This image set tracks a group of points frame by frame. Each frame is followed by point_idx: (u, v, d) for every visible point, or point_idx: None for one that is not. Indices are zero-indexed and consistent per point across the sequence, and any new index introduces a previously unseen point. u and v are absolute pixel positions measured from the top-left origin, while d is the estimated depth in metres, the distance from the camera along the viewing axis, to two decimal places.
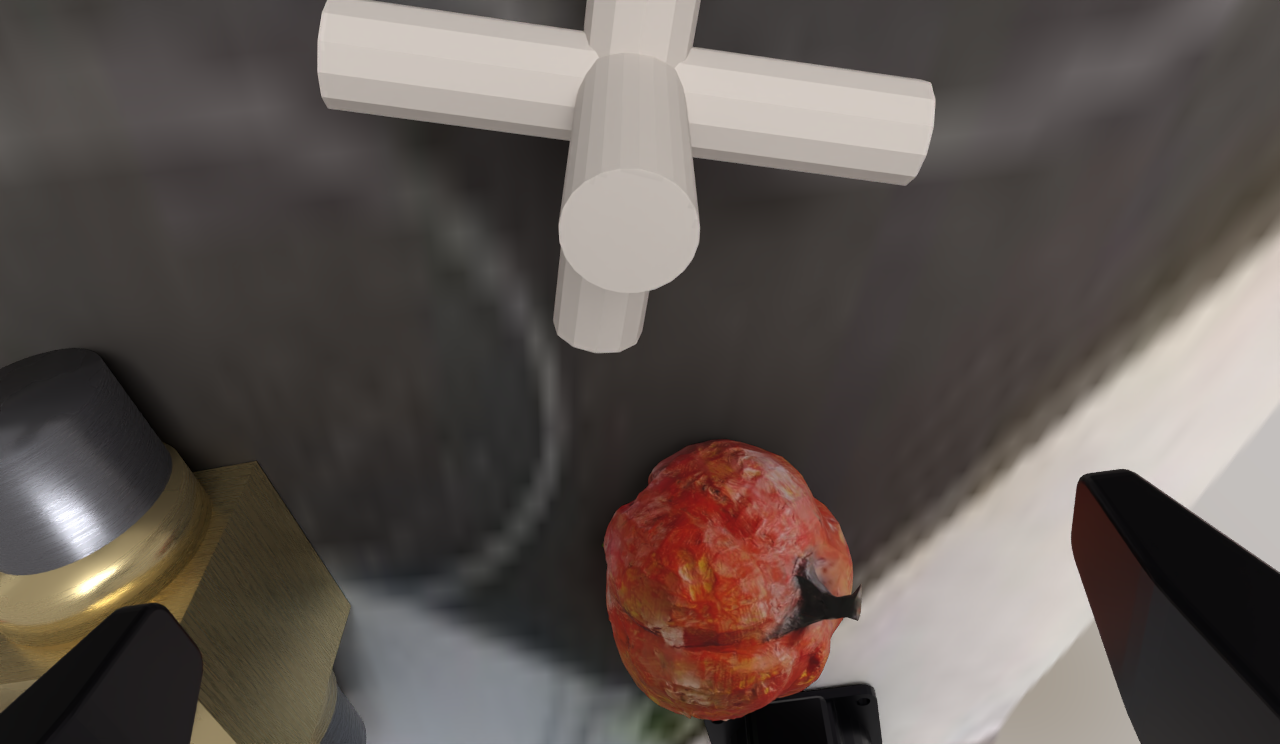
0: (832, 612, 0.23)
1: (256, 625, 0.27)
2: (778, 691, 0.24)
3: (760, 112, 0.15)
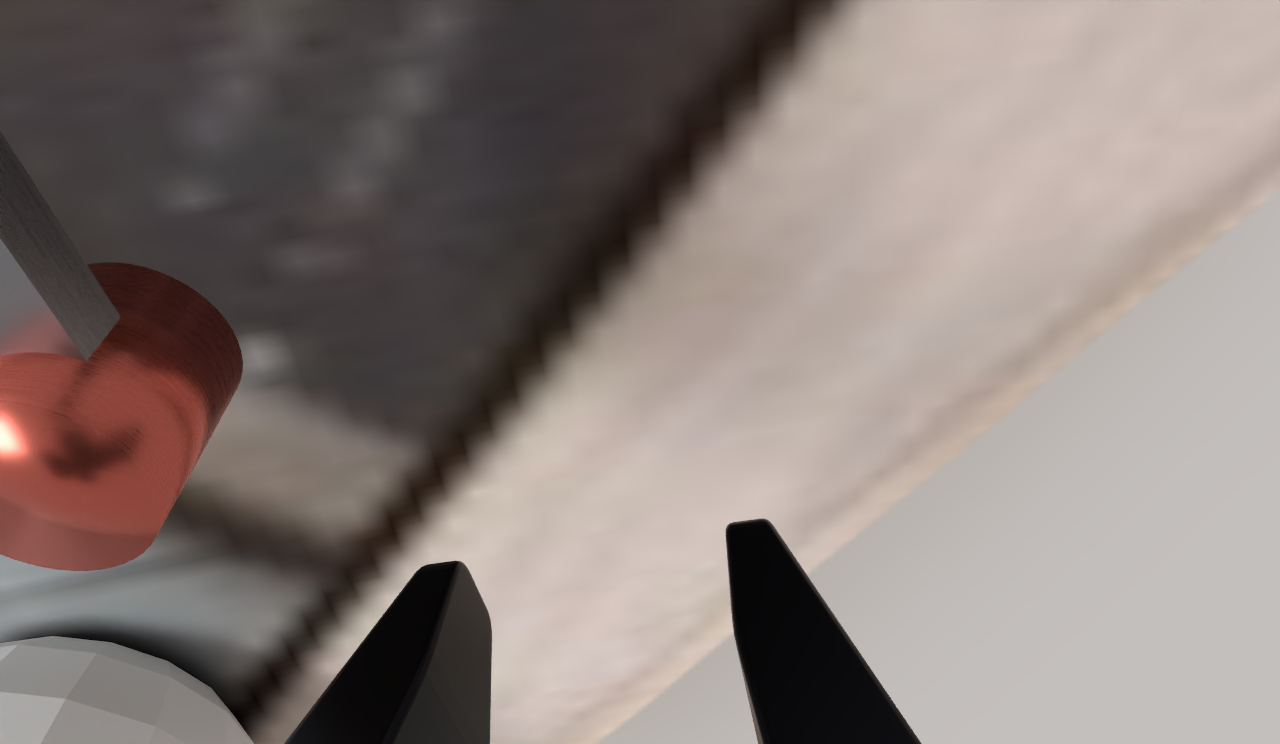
0: None
1: None
2: None
3: None
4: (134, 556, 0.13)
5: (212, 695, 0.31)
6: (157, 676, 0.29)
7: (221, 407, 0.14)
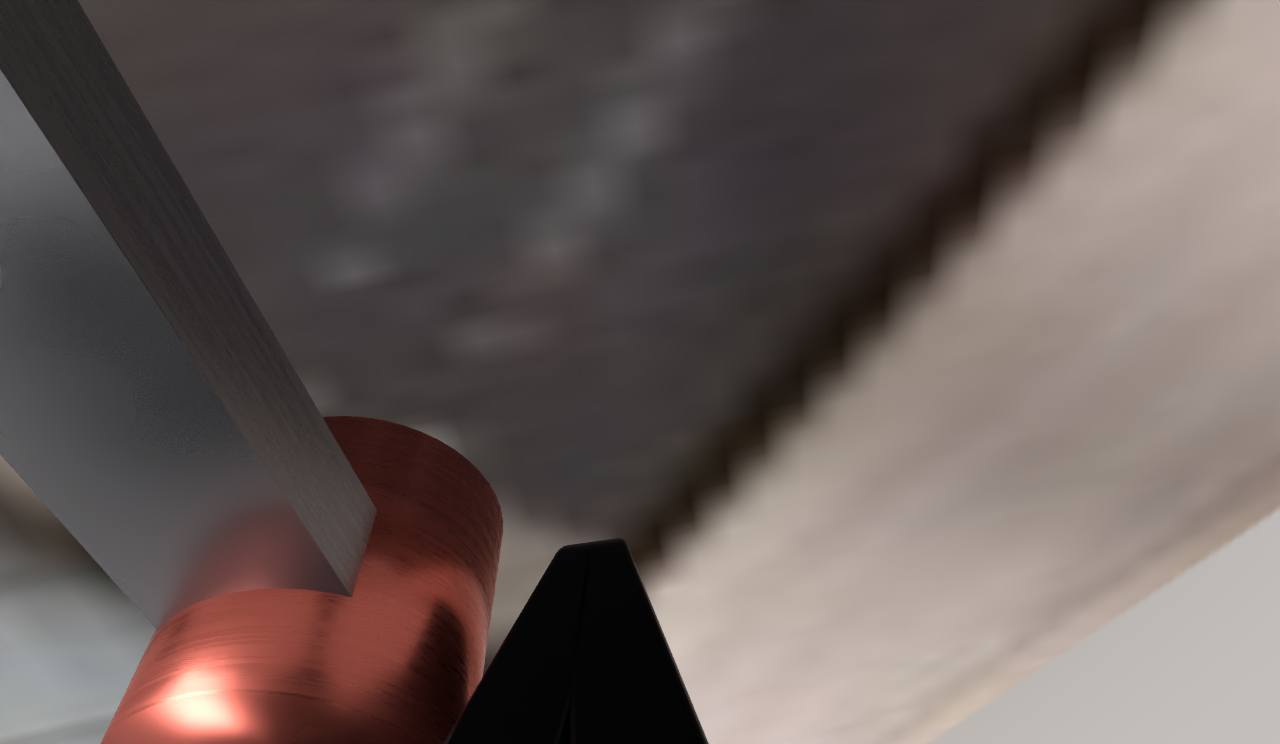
0: None
1: None
2: None
3: None
4: None
5: None
6: None
7: (490, 609, 0.10)
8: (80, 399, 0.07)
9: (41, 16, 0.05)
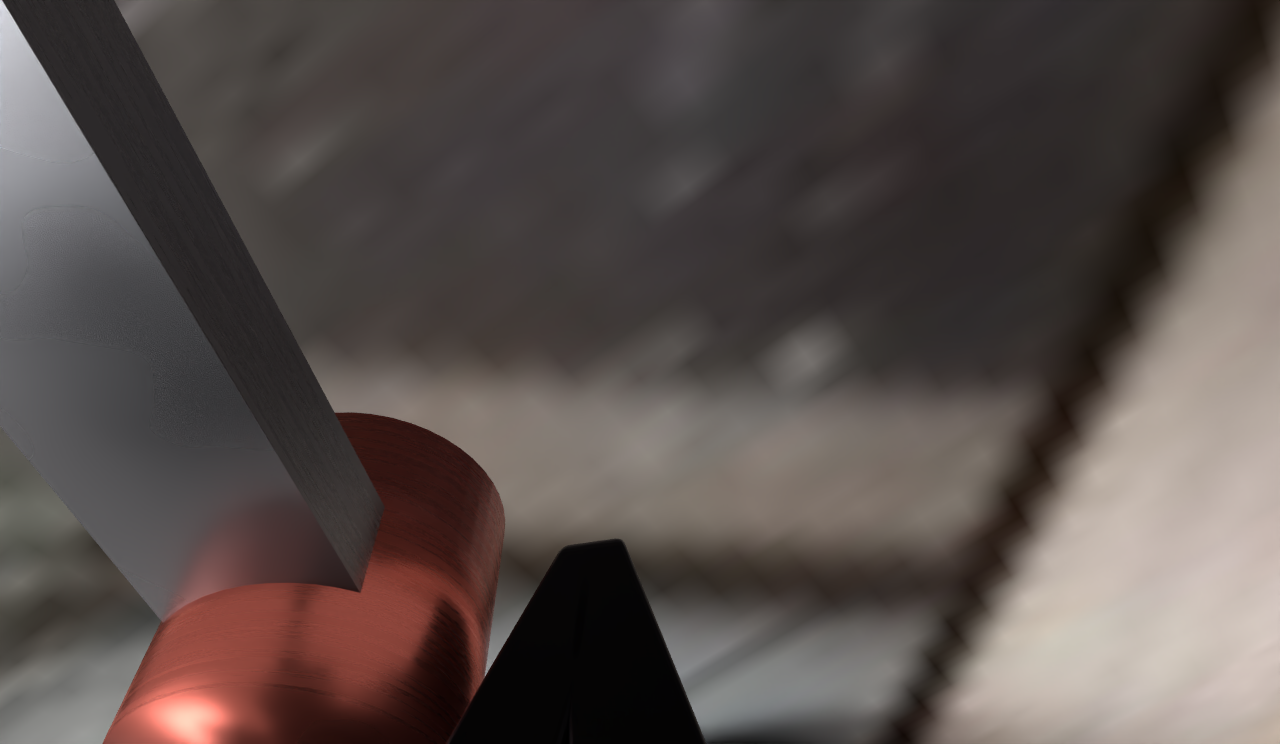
0: None
1: None
2: None
3: None
4: None
5: None
6: None
7: None
8: (98, 389, 0.07)
9: (76, 7, 0.06)
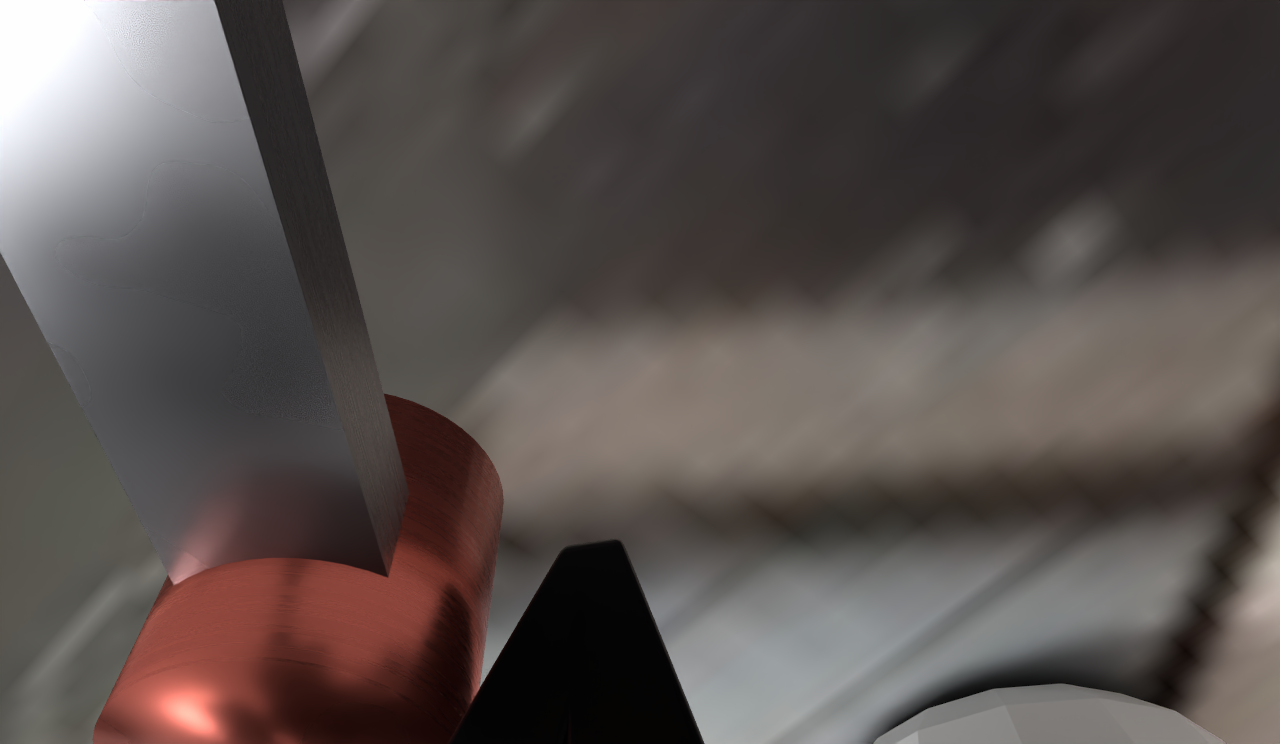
0: None
1: None
2: None
3: None
4: None
5: (1137, 700, 0.24)
6: (1084, 702, 0.23)
7: None
8: (179, 348, 0.06)
9: None
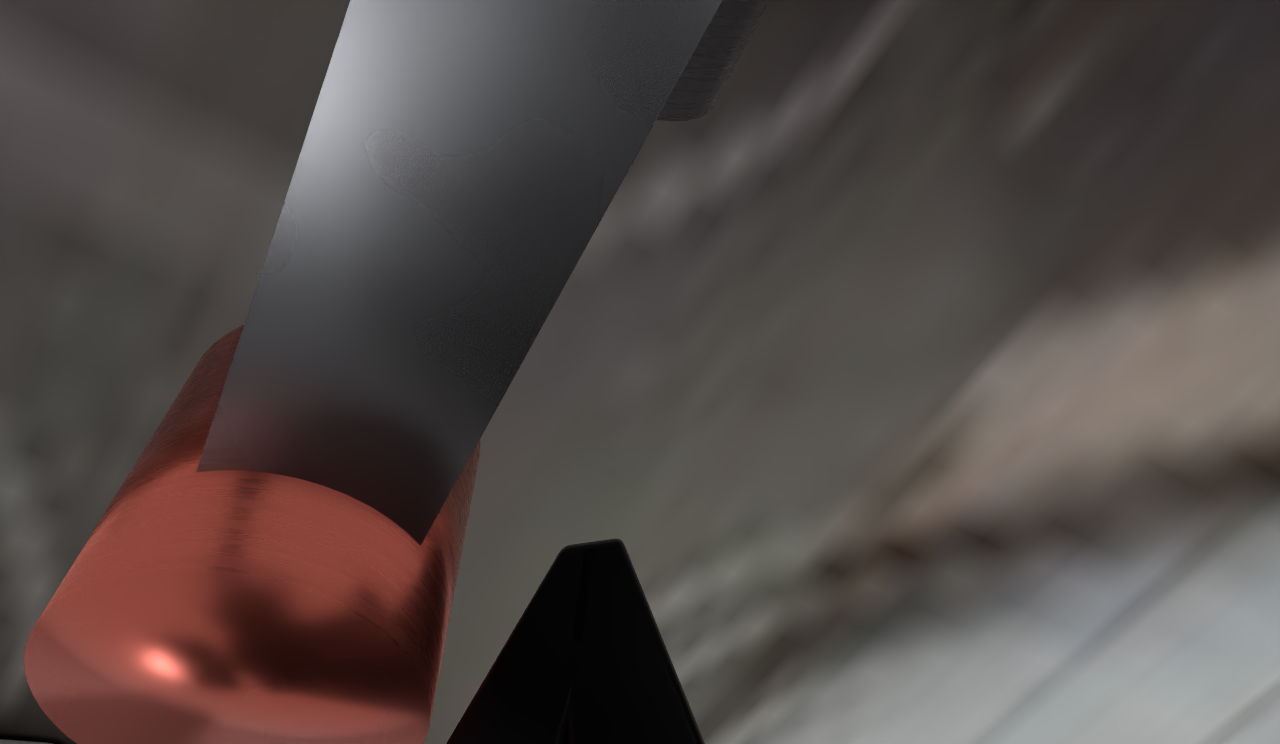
0: None
1: None
2: None
3: None
4: None
5: None
6: None
7: None
8: (411, 270, 0.06)
9: None
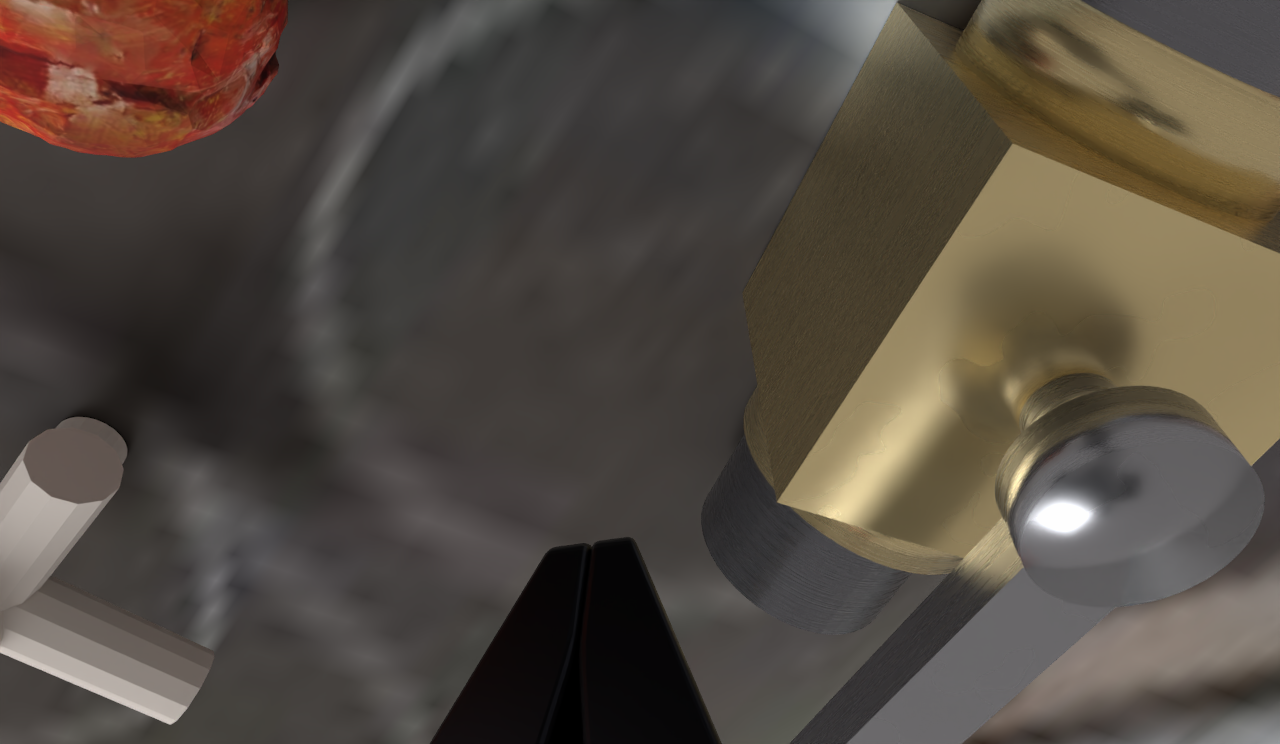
0: None
1: (824, 284, 0.17)
2: None
3: None
4: None
5: None
6: None
7: None
8: None
9: None
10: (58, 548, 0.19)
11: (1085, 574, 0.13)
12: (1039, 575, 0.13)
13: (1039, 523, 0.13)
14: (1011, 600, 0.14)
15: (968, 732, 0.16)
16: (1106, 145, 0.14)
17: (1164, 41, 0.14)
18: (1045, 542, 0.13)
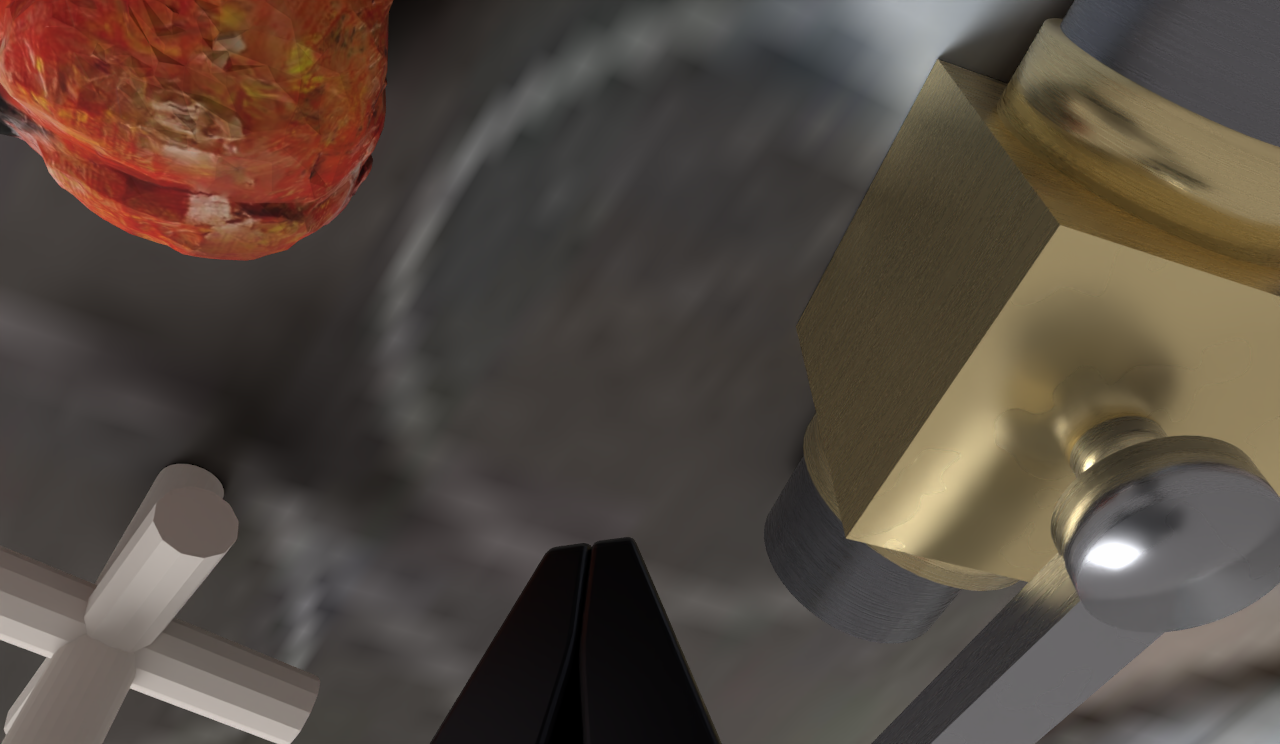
0: None
1: (880, 332, 0.18)
2: (21, 29, 0.12)
3: None
4: None
5: None
6: None
7: None
8: None
9: None
10: (184, 596, 0.21)
11: (1137, 605, 0.15)
12: (1095, 607, 0.15)
13: (1094, 564, 0.14)
14: (1069, 629, 0.15)
15: (1031, 742, 0.17)
16: (1144, 210, 0.15)
17: (1196, 110, 0.15)
18: (1100, 580, 0.14)
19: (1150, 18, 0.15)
